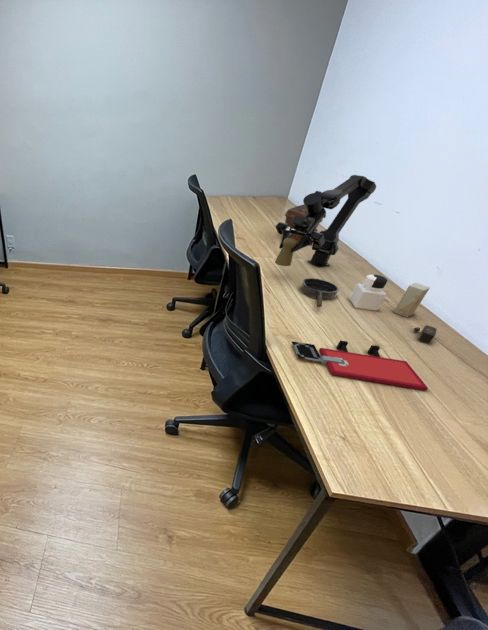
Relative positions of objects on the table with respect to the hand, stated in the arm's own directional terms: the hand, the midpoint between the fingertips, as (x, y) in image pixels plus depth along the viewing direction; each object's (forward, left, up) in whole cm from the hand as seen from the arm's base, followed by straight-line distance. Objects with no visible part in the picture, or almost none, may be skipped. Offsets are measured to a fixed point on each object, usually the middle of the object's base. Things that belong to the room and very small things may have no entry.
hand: (285, 250), depth 142 cm
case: (-47, -41, -13) cm, 64 cm away
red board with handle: (+19, +54, -13) cm, 59 cm away
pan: (-7, +15, -13) cm, 21 cm away
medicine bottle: (-16, +27, -13) cm, 34 cm away
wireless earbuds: (-16, +48, -13) cm, 52 cm away
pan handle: (+1, +23, -11) cm, 26 cm away
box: (-25, +35, -13) cm, 45 cm away
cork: (-1, 0, -6) cm, 7 cm away
